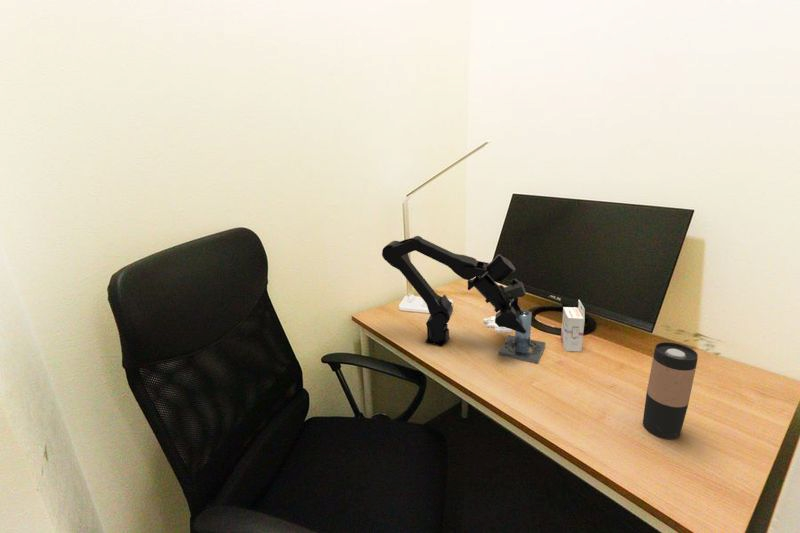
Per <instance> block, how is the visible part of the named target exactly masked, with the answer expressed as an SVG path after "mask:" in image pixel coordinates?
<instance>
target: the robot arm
mask: <svg viewBox="0 0 800 533" xmlns="http://www.w3.org/2000/svg"><path fill="white" fill-rule="evenodd" d="M413 252H418V253H420V254H422V255H424V256H426V257H427V258H430V259H432V260H434V261H437V262H438V263H441V264H443V265H444V266H445V267H448V268H449V269H450V270H451V271H452V272H454V273H455V275H457V276H459V277H460V278H461V279H462V280H466V281H467V291H470V290H471V289H473V288H475V289H476V290H477V291H478V292H479V293H480V294H481V296H483V297H484V301H485V303H486V304H490V305H491V306H493V308H494V312H495V313H496V314H495V316H496V317H495V323H496V324H497V325H498V326H499V327H506V328H509V329H512V330H513V331H514V332H515V331H517V332H520V333H523V334H524V333H526V330H525V329H524V327H523V326H522V324H521V323H520V322H519V320H518V319H517V311H518V310H521V309H522V308H521V306H520V305H519V298H523V297H525V296H526V292H527V291H526V289H525V286H524V283H523V282H522V281H521V280H520V281H519V280H518V279H517V278H512V279H511V280H510V284H508V286H505V287H504V286H503V285H502V284H497V283H499V282H503V281H504V280H505V279H506V278H508V277H510V275H511V274H513V273H514V272H515V271H516V267H515V265H513V263H512V262H511V261H510V260H509V259H508V258H506V257H504V256H502V255H501V254H500V253H499V254H497V255H496V256H495V257H494V258H493V259H492V260H491V261H490V262H485V261H480V260H477V258H475V257H472V256H469V255H465V254H457V253H453V251H452V252H451V251H449V250H448V249H445V248H444V247H441V246H439V245H437V244H435V243H433V242H431V241H429V240H427V239H424V238H423V237H421V236H419V235H415V236H413V237H411V238H407V239H403V240H392V241H390V242H389V243H387V244H386V245H385V246H384V247H383V249H382V251H381V256H382V258H383V260H384V261H385V262H387V263H388V264H389V265H390V266H391V267H393V268H395V269H397V270H399V272H400V273H401V274H402V275H403V276H404V278H405V279H406V281H407V282H409V284H410V285H411V287H413V288H414V290H415V291H416V293H417V294H418V295H419V296H420V298H421V299H422V300H423V302H424V303H425V304H426V307H427V310H428V313H429V317H428V319H427V321H426V323H425V325H426V333H427V334H426V336H427V337H426V340H425V343H427V344H430V345H434V346H439V347H444V345H445V344H447V342H448V341H449V340H450V329H449V328H448V327H449V326H448V323H449V322H450V319H451V317H452V315H453V311H454V307H453V305H452V304H453V302H452V301H450V300H449V299H448V297H447V295H446V294H443V295H442V296H441V295H439V294H437V292H435V290H434V289H433V288H432V287H431V285H430V284H429V283H428V282H427V280H426V279H425V277H423V275H422V274H421V273H420V271H419V270H418V269H417V267H416V266H415V265H413V263H412V261H411V259H410V255H409V253H413Z"/></svg>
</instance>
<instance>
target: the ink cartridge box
mask: <svg viewBox="0 0 800 533" xmlns="http://www.w3.org/2000/svg"><path fill="white" fill-rule="evenodd" d="M577 304H578V307H575V306H573V307H571V306H563V307H562V308H563V309H562V321H561V330H560V340H561V342H562V344H563V347H564V350H565V352H579V353H580V352H582V349H583V342H584V340H583V339H584V332H585V331H584V330H585V322H586V320H585V319H586V317H585V316H586V315H585V314H586V311H585V310H586V309H585V307H584V305H583V303H582V301H581V300H580V299H578V303H577Z"/></svg>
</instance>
